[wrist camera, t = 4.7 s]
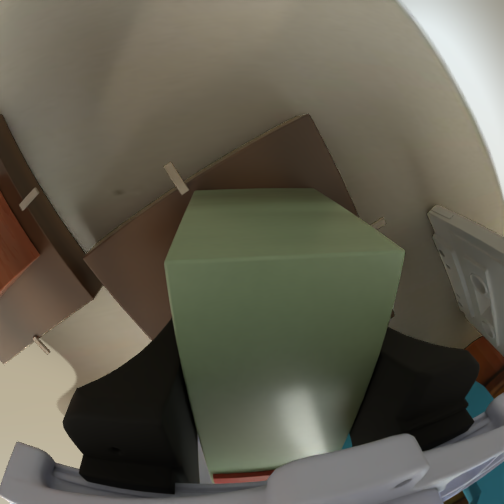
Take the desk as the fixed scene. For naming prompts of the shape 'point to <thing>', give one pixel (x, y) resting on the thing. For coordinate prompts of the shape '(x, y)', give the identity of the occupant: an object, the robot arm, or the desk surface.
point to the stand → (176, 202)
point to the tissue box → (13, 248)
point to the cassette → (473, 270)
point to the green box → (276, 323)
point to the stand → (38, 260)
